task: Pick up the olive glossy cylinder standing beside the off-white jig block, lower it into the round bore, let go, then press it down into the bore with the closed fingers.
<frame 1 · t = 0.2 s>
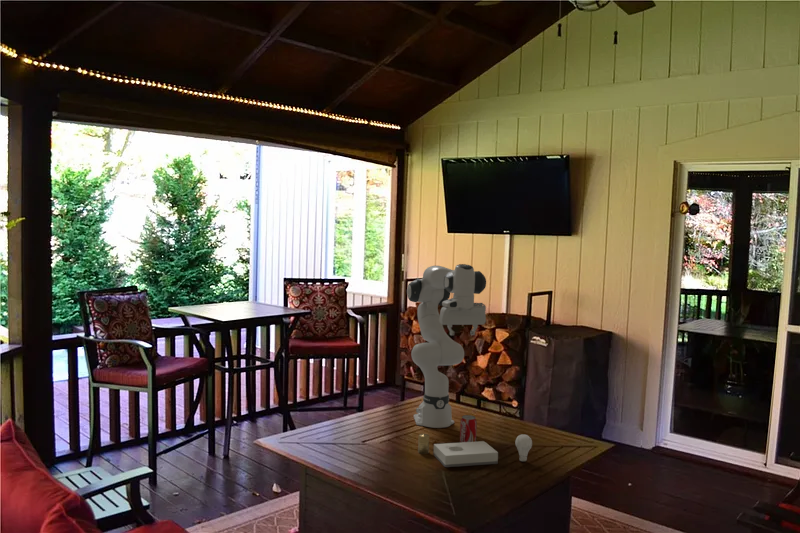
hand: (462, 335, 268), 47 cm above the table, tool pointing down, fingers open, 8 cm apart
olive glossy cylinder: (423, 452, 259), on the table
light bulb: (522, 462, 252), on the table
soda can: (467, 444, 271), on the table
jig: (465, 459, 253), on the table
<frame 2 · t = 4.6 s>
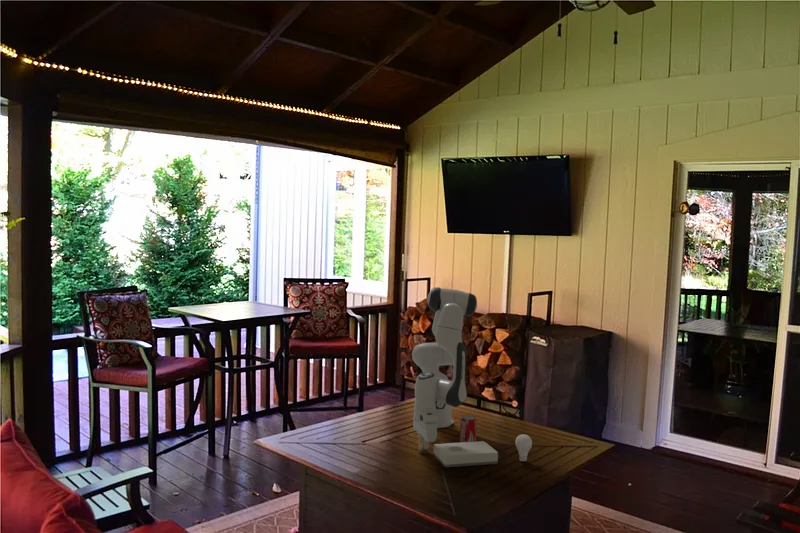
hand: (423, 445, 259), 3 cm above the table, tool pointing down, fingers closed on olive glossy cylinder, 4 cm apart
olive glossy cylinder: (423, 452, 259), on the table, touching gripper
everything else where it was.
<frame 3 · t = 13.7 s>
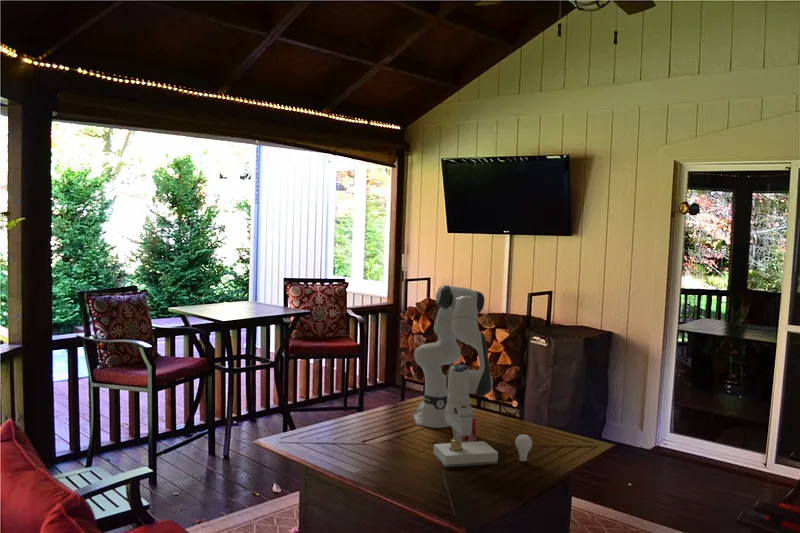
hand: (457, 440, 251), 8 cm above the table, tool pointing down, fingers closed, pressing on olive glossy cylinder
olive glossy cylinder: (455, 457, 252), point 1 cm above the table, touching gripper, jig
everything else where it was.
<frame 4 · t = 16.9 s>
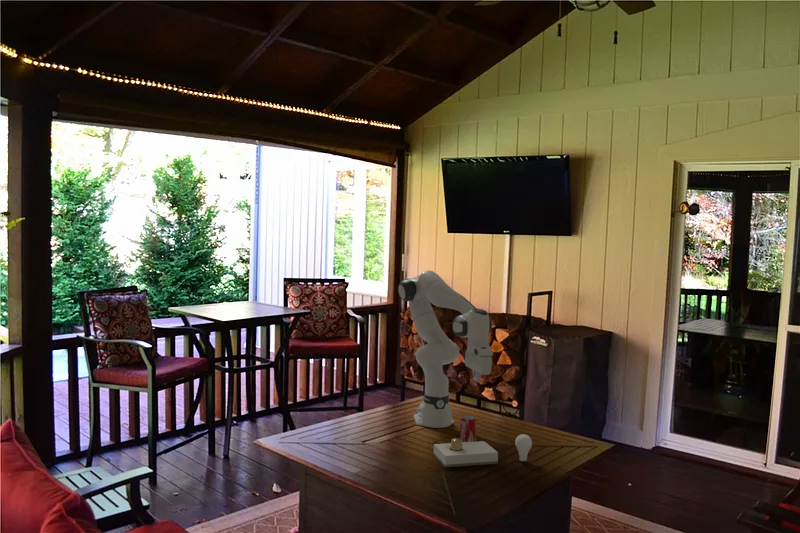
hand: (476, 381, 263), 29 cm above the table, tool pointing down, fingers closed
olive glossy cylinder: (455, 457, 252), point 1 cm above the table, touching jig
everything else where it was.
at the end: olive glossy cylinder 0.2 cm from the target spot on the jig, point 1.1 cm above the jig's base; olive glossy cylinder tilted 2°; the gripper is holding nothing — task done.
